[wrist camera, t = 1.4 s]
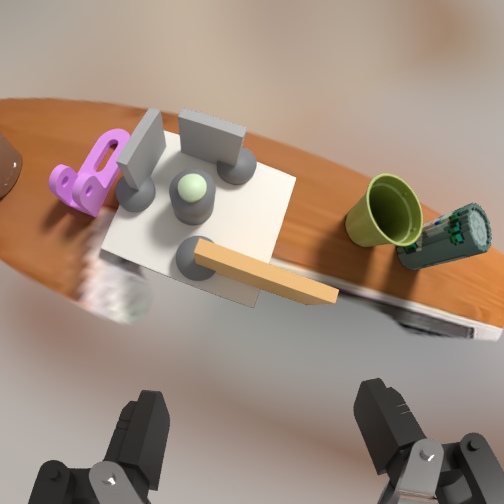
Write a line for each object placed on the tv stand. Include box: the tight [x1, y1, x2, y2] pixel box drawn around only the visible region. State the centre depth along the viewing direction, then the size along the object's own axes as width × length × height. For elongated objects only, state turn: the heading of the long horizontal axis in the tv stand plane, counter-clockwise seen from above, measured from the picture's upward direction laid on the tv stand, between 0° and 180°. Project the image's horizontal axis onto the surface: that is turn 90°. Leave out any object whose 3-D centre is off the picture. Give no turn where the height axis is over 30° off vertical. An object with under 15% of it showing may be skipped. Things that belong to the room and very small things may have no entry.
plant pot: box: [345, 173, 423, 247], centre depth 34 cm, size 9×9×9 cm
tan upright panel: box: [176, 236, 339, 305], centre depth 29 cm, size 16×5×8 cm, turn 71°
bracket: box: [49, 129, 130, 217], centre depth 30 cm, size 13×6×7 cm, turn 161°
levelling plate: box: [101, 108, 296, 308], centre depth 30 cm, size 21×18×10 cm
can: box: [396, 203, 492, 270], centre depth 32 cm, size 6×6×15 cm
